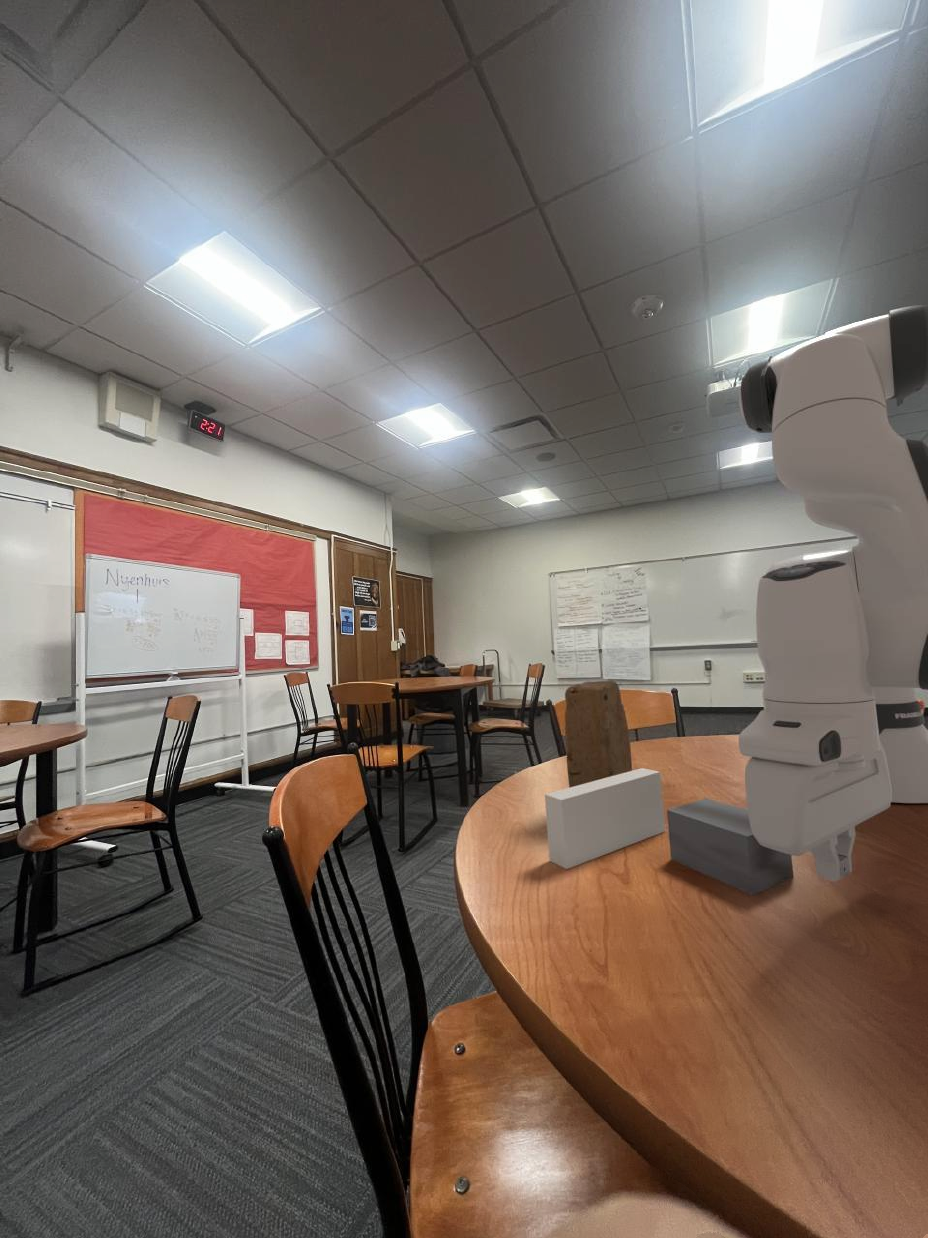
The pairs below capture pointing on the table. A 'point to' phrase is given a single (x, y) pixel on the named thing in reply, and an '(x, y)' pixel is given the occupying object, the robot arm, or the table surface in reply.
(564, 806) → the cream board
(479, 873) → the table surface
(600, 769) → the block
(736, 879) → the charcoal block
